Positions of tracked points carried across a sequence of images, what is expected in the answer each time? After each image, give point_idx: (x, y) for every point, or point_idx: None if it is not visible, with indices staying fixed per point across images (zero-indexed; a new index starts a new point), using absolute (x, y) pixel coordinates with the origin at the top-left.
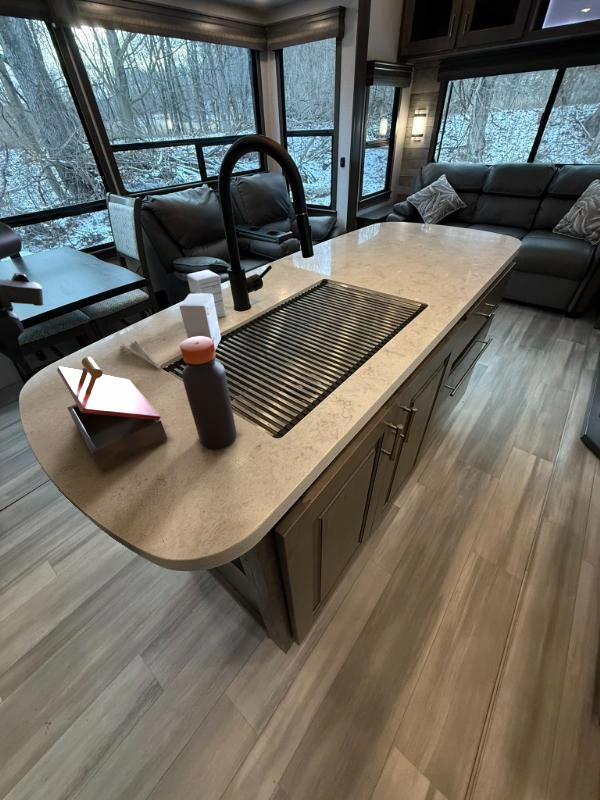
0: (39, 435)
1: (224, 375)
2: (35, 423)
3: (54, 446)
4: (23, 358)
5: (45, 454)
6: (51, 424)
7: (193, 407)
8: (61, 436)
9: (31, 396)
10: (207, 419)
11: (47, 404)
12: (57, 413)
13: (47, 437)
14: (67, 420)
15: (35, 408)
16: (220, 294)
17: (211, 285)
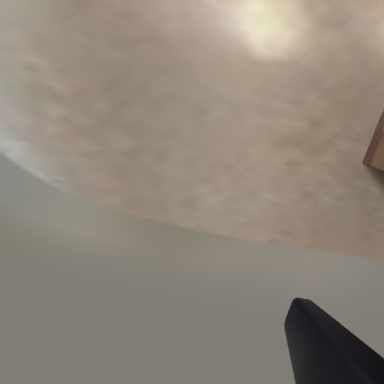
0: (301, 238)
1: None
2: (242, 227)
3: (375, 231)
4: (336, 324)
5: (380, 252)
6: (285, 204)
7: None
8: (357, 207)
9: (91, 189)
10: None
11: (177, 175)
12: (250, 174)
13: (327, 229)
14: (308, 170)
15: (169, 204)
16: None
17: None
